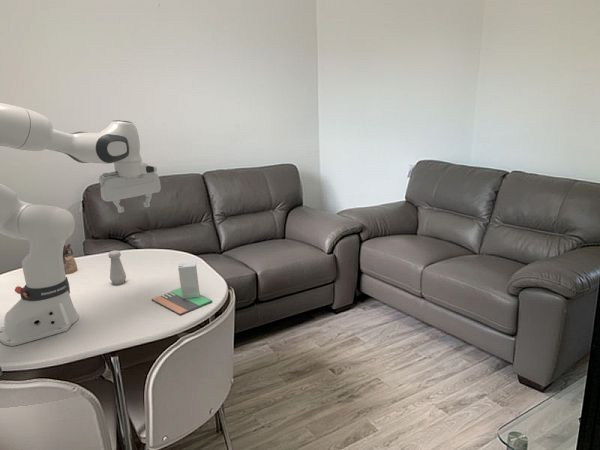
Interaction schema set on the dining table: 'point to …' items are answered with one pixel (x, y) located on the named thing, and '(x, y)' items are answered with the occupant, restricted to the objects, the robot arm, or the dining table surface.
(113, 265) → the salt shaker
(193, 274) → the skincare box
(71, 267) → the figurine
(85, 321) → the dining table surface
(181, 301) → the striped book
